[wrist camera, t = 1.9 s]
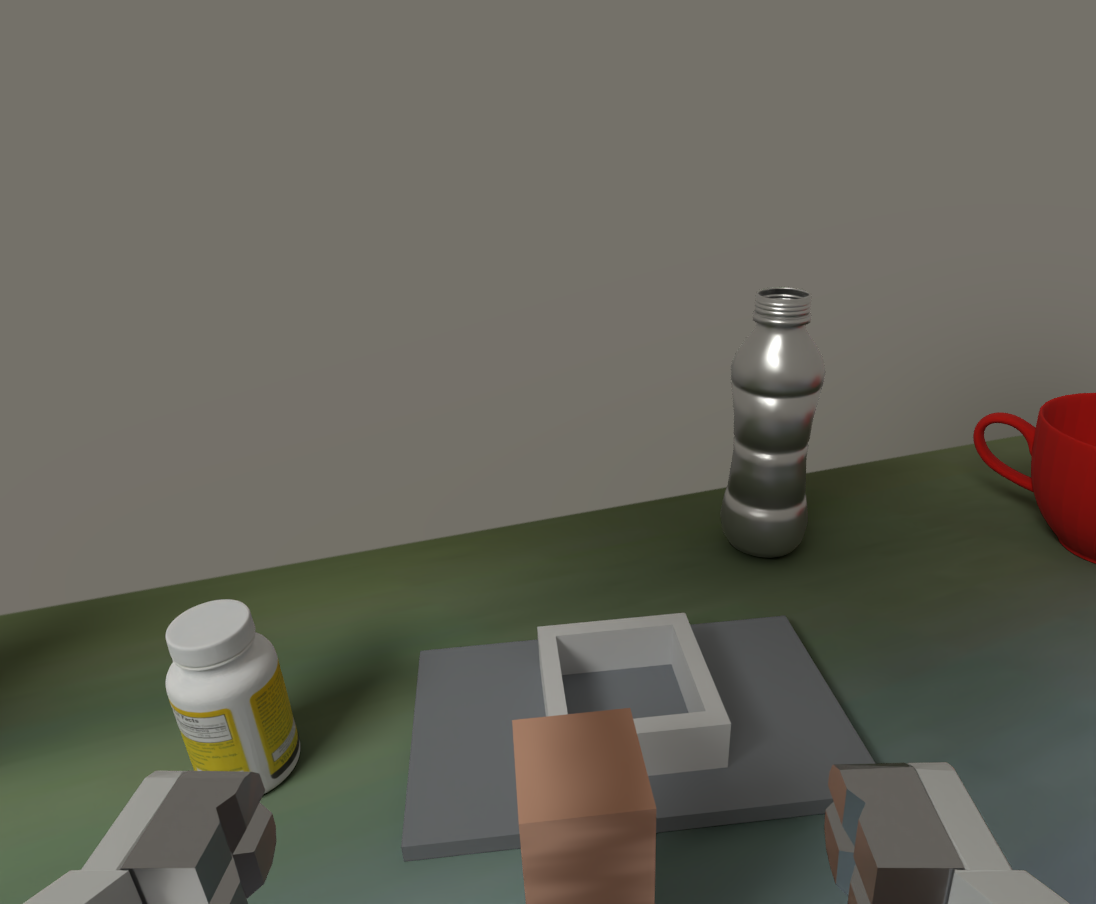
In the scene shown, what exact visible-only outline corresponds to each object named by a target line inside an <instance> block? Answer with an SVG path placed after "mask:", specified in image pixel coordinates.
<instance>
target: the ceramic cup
mask: <svg viewBox="0 0 1096 904" xmlns="http://www.w3.org/2000/svg"><path fill="white" fill-rule="evenodd" d="M992 423H1003V424H1008V425H1010V426H1013V427H1014V428H1016V429H1017V430H1019V431H1020V432H1021V433H1022V434H1023V436H1024V437H1025V439H1026V440H1027V443H1028V446H1029V451H1030V454H1031V456H1032V461H1031V477H1028V476H1026V475H1024V474H1022V473H1020V472H1018V471H1016V470H1014V469H1012V468H1011V467H1009V466H1007V465H1006V464H1004V463H1003V462H1001V461H1000V460H999V459H997V458H996V457H995V456H994V455H993V454H992V452H991V451H990V450H989V448H988V447H987V445H986V442H985V439H984V431H985V428H986V427H987V426H988V425H990V424H992ZM974 444H975V447H976V450H977V452H978V454H979V455H980V457H981V458H982V460H983V461H984V462H985V463H986V464H987V465H988V466H989V467H990V468H991V469H993V470H994V471H995V472H997V473H998V474H1000V475H1001V476H1003V477H1005V478H1006V479H1008V480H1010V481H1012V482H1014V483H1016V484H1017V485H1019V486H1021V487H1023V488H1025V489H1027V490H1030V491H1032V492H1034V495H1035V498H1036V501H1037V504H1038V506H1039V509H1040V511H1041V513H1042V515H1043V517H1044V519H1045V520H1046V522H1047V523H1048V525H1049V526H1050V528H1051V529H1052V530H1053V532H1054V533H1055V534H1056V535H1057V537H1058V540H1059V542H1060V543H1061V544H1062V545H1063V546H1064V547H1065V548H1066V549H1067V550H1069V551H1070V552H1072V553H1073V554H1075V555H1077V556H1079V557H1081V558H1083V559H1085V560H1087V561H1090V562H1092V563H1095V564H1096V393H1082V394H1081V393H1080V394H1072V395H1065V396H1061V397H1057V398H1054V399H1052V400H1050V401H1048V402H1046V403H1045V404H1044V405H1043V406H1042V407H1041V408H1040V411H1039V415H1038V420H1037V425H1036V428H1035V427H1034V426H1032V425H1031V424H1029V423H1028V422H1026V421H1025V420H1023V419H1021V418H1020V417H1017V416H1015V415H1012V414H1008V413H993V414H989V415H987V416H985V417H984V418H982V419H981V420H980V421H979V422H978V424H977V426H976V427H975V430H974Z"/></svg>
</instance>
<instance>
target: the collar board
mask: <svg viewBox="0 0 1096 904" xmlns="http://www.w3.org/2000/svg"><path fill="white" fill-rule="evenodd" d="M537 629H538V640H529V641H518V642H508V643H498V644H487V645H477V646H467V647H456V648H446V649H436V650H426V651H420V659H419V670H418V680H417V690H416V701H415V711H414V721H413V732H412V742H411V753H410V763H409V773H408V784H407V794H406V804H405V815H404V825H403V836H402V846H401V848H402V853H403V858H404V861H413V860H422V859H430V858H439V857H448V856H457V855H465V854H474V853H483V852H492V851H500V850H509V849H518V848H521V843H520V833H519V821H518V805H517V789H516V773H515V758H514V742H513V726H512V720H518V719H528V718H537V717H547V716H556V715H566V714H576V713H585V712H595V711H605V710H614V709H624V708H630V709H631V713H632V717H633V720H634V724H635V728H636V732H637V736H638V740H639V743H640V747H641V751H642V755H643V759H644V763H645V767H646V770H647V774H648V778H649V782H650V786H651V790H652V793H653V797H654V801H655V805H656V833H658V832H666V831H675V830H684V829H693V828H701V827H710V826H719V825H728V824H736V823H745V822H754V821H763V820H771V819H780V818H789V817H798V816H806V815H815V814H824V813H825V809H826V808H827V807H829V806H830V805H831V804H832V803H833V802H834V801H833V798H832V795H831V793H830V790H829V787H828V781H829V772H830V770H831V767H832V765H833V764H876V763H875V762H874V760H873V758H872V757H871V755H870V753H869V752H868V750H867V749H866V747H865V745H864V744H863V742H862V740H861V739H860V737H859V735H858V734H857V732H856V731H855V729H854V727H853V726H852V724H851V722H850V721H849V719H848V717H847V716H846V714H845V713H844V711H843V709H842V708H841V706H840V704H839V703H838V701H837V699H836V698H835V696H834V695H833V693H832V691H831V690H830V688H829V686H828V685H827V683H826V681H825V680H824V678H823V676H822V675H821V673H820V672H819V670H818V668H817V667H816V665H815V663H814V662H813V660H812V658H811V657H810V655H809V654H808V652H807V650H806V649H805V647H804V645H803V644H802V642H801V640H800V639H799V637H798V636H797V634H796V632H795V631H794V629H793V627H792V626H791V624H790V622H789V621H788V619H787V618H786V616H776V617H766V618H755V619H745V620H735V621H724V622H714V623H704V624H694V625H690V624H689V621H688V619H687V617H686V614H685V613H677V614H666V615H656V616H645V617H635V618H625V619H614V620H604V621H593V622H583V623H573V624H562V625H552V626H541V627H537Z"/></svg>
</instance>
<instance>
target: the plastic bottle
mask: <svg viewBox="0 0 1096 904" xmlns="http://www.w3.org/2000/svg"><path fill="white" fill-rule="evenodd" d="M810 307H811V293H810V292H808V291H806V290H802V289H797V288H787V287H774V288H766V289H761V290H759V291H757V292H756V299H755V310H754V312H753V320H754V321H755V322H757V325H756V328H755V329H754V330H753V331H752V332H751V334H750V335H749V336H748V337H747V338H746V339H745V341H744V342H743V343H742V345H741V346H740V348H739V349H738V351H737V352H736V353H735V356H734V359H733V361H732V365H731V380H732V395H733V407H734V435H735V436H734V450H733V456H732V462H731V468H730V475H729V481H728V486H727V488H726V491H725V494H724V498H723V502H722V507H721V523H722V530H723V533H724V535H725V536H726V538H727V539H728V541H729V542H730V543H731V545H732V546H734V547H735V548H736V549H738V550H739V551H741V552H744V553H746V554H749V555H752V556H757V557H765V558H773V557H780V556H784V555H786V554H789V553H790V552H792V551H793V550H794V549H795V548H796V547H797V546H798V545H799V544H800V543H801V542H802V539H803V536H804V533H805V530H806V527H807V524H808V512H807V501H806V495H805V489H806V456H807V450H808V441H809V439H810V433H811V427H812V422H813V417H814V414H815V410H816V407H817V403H818V400H819V396H820V393H821V389H822V386H823V382H824V376H825V367H824V361H823V357H822V355H821V353H820V351H819V349H818V347H817V346H816V344H815V342H814V341H813V339H812V338H811V336H810V335H809V333H808V332H807V330H806V324H808V323H810V321H811V313H810Z"/></svg>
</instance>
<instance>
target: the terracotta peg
mask: <svg viewBox="0 0 1096 904" xmlns="http://www.w3.org/2000/svg"><path fill="white" fill-rule="evenodd" d="M512 726H513V742H514V758H515V773H516V789H517V805H518V821H519V833H520V843H521V854H522V865H523V876H524V887H525V897H526V904H654V903H655V856H656V805H655V801H654V797H653V793H652V790H651V786H650V782H649V778H648V774H647V770H646V767H645V763H644V759H643V755H642V751H641V747H640V743H639V740H638V736H637V732H636V728H635V724H634V720H633V717H632V713H631V709H630V708H624V709H614V710H605V711H595V712H585V713H576V714H566V715H556V716H547V717H537V718H528V719H518V720H512Z"/></svg>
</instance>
